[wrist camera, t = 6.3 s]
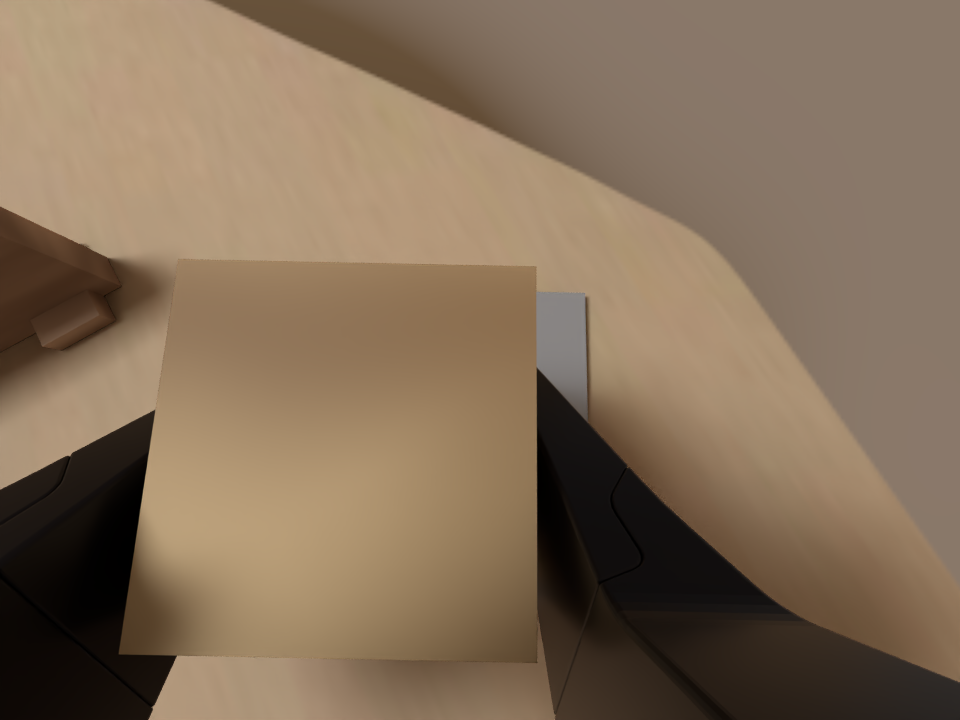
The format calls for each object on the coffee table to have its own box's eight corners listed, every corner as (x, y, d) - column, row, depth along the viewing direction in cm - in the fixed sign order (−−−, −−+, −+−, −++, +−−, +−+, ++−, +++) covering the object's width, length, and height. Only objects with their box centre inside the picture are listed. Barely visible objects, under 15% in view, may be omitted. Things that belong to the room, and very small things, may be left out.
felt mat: (589, 605, 16) (592, 609, 16) (267, 598, 16) (262, 602, 16) (582, 295, 18) (584, 293, 18) (296, 290, 18) (292, 287, 18)
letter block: (498, 514, 15) (537, 662, 5) (354, 511, 15) (119, 653, 5) (500, 368, 16) (536, 258, 6) (364, 365, 16) (179, 250, 6)
